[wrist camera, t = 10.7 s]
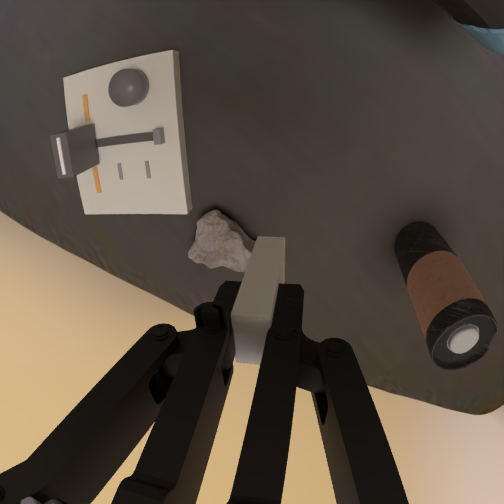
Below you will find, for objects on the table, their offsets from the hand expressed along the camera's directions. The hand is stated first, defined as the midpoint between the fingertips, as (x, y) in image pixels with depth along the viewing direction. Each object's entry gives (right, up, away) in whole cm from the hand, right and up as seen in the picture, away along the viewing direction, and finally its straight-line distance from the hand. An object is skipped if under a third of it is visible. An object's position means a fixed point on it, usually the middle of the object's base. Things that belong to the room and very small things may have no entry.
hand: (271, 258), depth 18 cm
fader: (-24, +15, +21) cm, 36 cm away
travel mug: (+22, +1, +24) cm, 32 cm away
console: (-19, +16, +23) cm, 34 cm away
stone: (-4, +2, +28) cm, 29 cm away
